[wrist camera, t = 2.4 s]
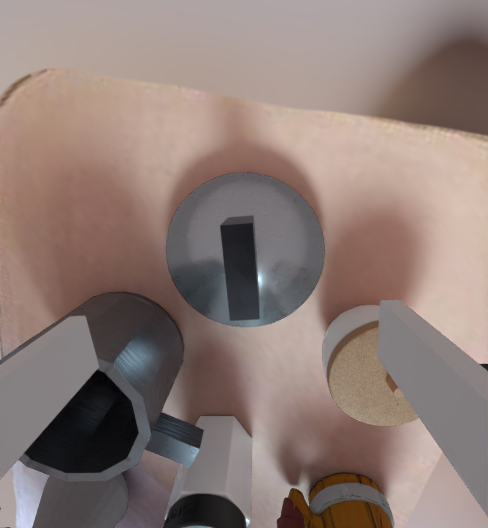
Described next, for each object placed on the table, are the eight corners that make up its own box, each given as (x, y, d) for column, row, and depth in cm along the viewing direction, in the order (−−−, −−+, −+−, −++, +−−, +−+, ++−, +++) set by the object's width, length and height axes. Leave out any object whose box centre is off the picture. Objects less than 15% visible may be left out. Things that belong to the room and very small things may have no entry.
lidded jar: (316, 377, 33) (339, 448, 24) (306, 297, 30) (327, 344, 21) (407, 366, 32) (466, 436, 23) (405, 283, 29) (472, 325, 20)
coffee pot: (138, 507, 41) (74, 682, 26) (65, 500, 41) (-39, 668, 27) (130, 391, 35) (41, 534, 20) (44, 383, 35) (-103, 520, 21)
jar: (206, 402, 35) (180, 508, 23) (261, 427, 35) (263, 543, 24) (178, 448, 37) (143, 565, 26) (231, 470, 38) (219, 595, 26)
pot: (191, 420, 36) (164, 518, 25) (59, 365, 34) (-30, 445, 24) (235, 337, 32) (225, 411, 21) (88, 272, 30) (-1, 316, 20)
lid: (320, 314, 31) (341, 357, 23) (183, 321, 32) (159, 365, 24) (319, 166, 26) (345, 157, 19) (161, 180, 27) (123, 177, 20)
